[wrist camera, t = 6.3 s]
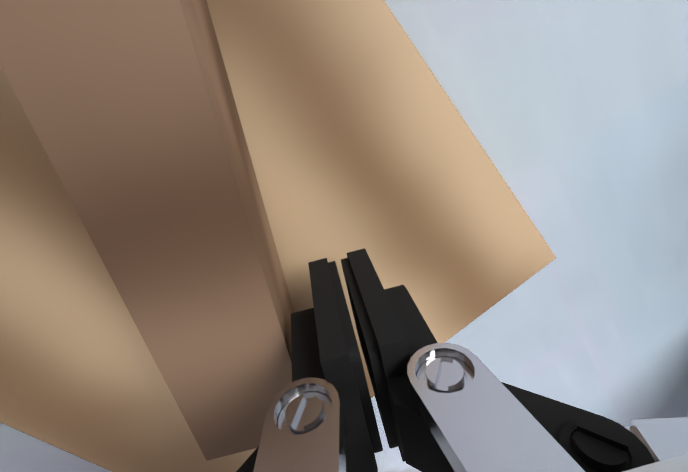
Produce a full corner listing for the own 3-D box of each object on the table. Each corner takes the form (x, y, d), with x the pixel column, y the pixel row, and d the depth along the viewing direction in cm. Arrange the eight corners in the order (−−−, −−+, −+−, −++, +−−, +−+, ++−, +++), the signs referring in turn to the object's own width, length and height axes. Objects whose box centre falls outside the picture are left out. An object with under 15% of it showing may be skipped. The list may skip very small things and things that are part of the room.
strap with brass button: (-24, -200, 7) (-325, -471, 3) (143, -222, 7) (13, -496, 4) (223, 378, 13) (202, 483, 9) (307, 358, 13) (315, 453, 10)
